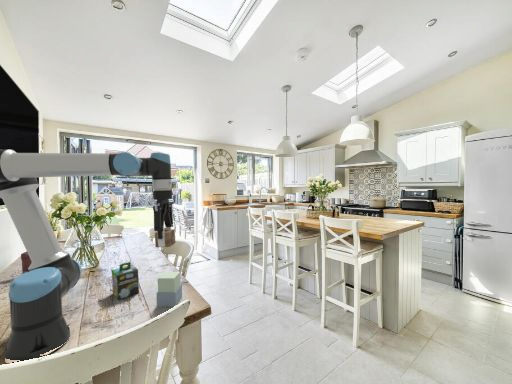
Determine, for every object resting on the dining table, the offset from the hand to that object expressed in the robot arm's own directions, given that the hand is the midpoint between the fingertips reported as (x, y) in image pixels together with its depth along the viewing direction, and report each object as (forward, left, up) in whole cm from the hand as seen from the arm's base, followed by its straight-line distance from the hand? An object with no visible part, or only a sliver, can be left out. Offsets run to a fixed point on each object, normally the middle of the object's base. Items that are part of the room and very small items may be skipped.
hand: (165, 244), depth 96 cm
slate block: (+1, -1, -26) cm, 26 cm away
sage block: (+1, -1, -20) cm, 20 cm away
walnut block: (0, 0, 0) cm, 0 cm away
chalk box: (+9, +23, -26) cm, 36 cm away
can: (+30, +90, -26) cm, 99 cm away
